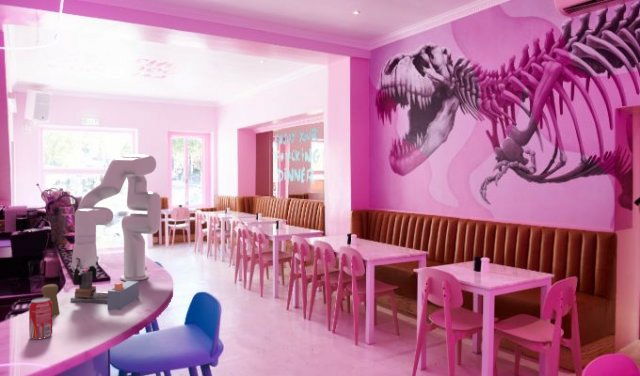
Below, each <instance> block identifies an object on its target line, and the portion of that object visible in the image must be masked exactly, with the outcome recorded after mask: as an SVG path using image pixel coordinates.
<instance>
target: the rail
mask: <svg viewBox="0 0 640 376" xmlns="http://www.w3.org/2000/svg"><path fill="white" fill-rule="evenodd" d="M70 303H85V304H86V303H91V304H108V291H99V290H98V291H97V290H96V291H91V297H90V298H87V297H75V295H74V296H72V297H70Z"/></svg>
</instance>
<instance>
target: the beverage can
mask: <svg viewBox="0 0 640 376" xmlns="http://www.w3.org/2000/svg"><path fill="white" fill-rule="evenodd" d="M28 319H29V322H28V323H29V325H28V326H29V328H28V331H29V332H28V333H29V334H28V335H29V338H30V339H33V338H34V339H33V340H40V339H39V338H43V339H45V338H44V337H46V338H48V337H50V336H51V335H52V334H53V317H52V302H51V301H50V298H43V297H38V298H37V297H36V298H33V299H32V300H31V301H30V303H29V306H28Z"/></svg>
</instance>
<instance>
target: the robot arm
mask: <svg viewBox="0 0 640 376" xmlns="http://www.w3.org/2000/svg"><path fill="white" fill-rule="evenodd" d="M156 168H157V160H156V158H155V157H154V156H152V155H149V154H124V155H122V156H120V157H118V158H114V159H112V160H111V162H110V163H109V165H108V167H107V170H106V172H105V174H104V176H103V177H102V180H101V182H100V183H99V185H97V186H96V187H94V188H93V189H91V190H90V191H89V192H88V193H87V194H85V195H84V196H83V198H82V199H81V200H80V202H79V205H78V207H77V209H76V210H75V212H74V244H73V250H72V258H71V264H70V269H71V272H72V275H73V285H75V286H76V285H78V286H79V285H81V284H82V274H81V273H83V272H84V271H83V270H85V269H87V270H88V271H87V272H92V280H96V279H97V269H98V264H99V258H100V256H98V253H97V252H98V251H97V226H107V225H109V224H110V223H111V222H113V219H114V213H113V211H112V209H110V208H109V207H104V206H96V205H97V204H98V203H99V202H102V201H104V200H107V199H109V198H111V197H113V196H116V195H118V194H120V193H121V190H122V188H123V186H124V183H125V181H126V179H127V183H128V184H127V197H126V207H127V208H128V210H131V211H133V212H134V211H136V212H137V211H139V212H147V213H128V214H125V215H124V216H123V218H122V219H121V229H122V230H121V231H122V233H123V234H122V235H123V274H122V275H120V278H119V279H120V280H121V281H123V282H126V281H139V282H140V281H143V280H147V279H148V278H149V274H148V273H146V271H148V267H147V266H146V240H145V238H144V236H143V234H144V235H145V234H146V235H153V234H156V233H157V232H158V231H159V229H160V225H161V216H162V215H161V212H162V198H161V195H160V194H159V193H158V192H155V191H147V190H148V189H147V187H148V181H147V178H146V175H149V174H152V173H153V172H155V170H156Z"/></svg>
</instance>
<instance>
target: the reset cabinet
mask: <svg viewBox="0 0 640 376" xmlns="http://www.w3.org/2000/svg"><path fill="white" fill-rule="evenodd" d="M122 283H123V289H122V290H114V287H113V288H111V289H108V290H107V292H108V303H107V310H123V309H124V308H125V307H127V306H129V305H130V304H131V303H133V302H134V301H135V302H136V300H138V299H140V285H139V284H140V280H139V281H123V282H122Z"/></svg>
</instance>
